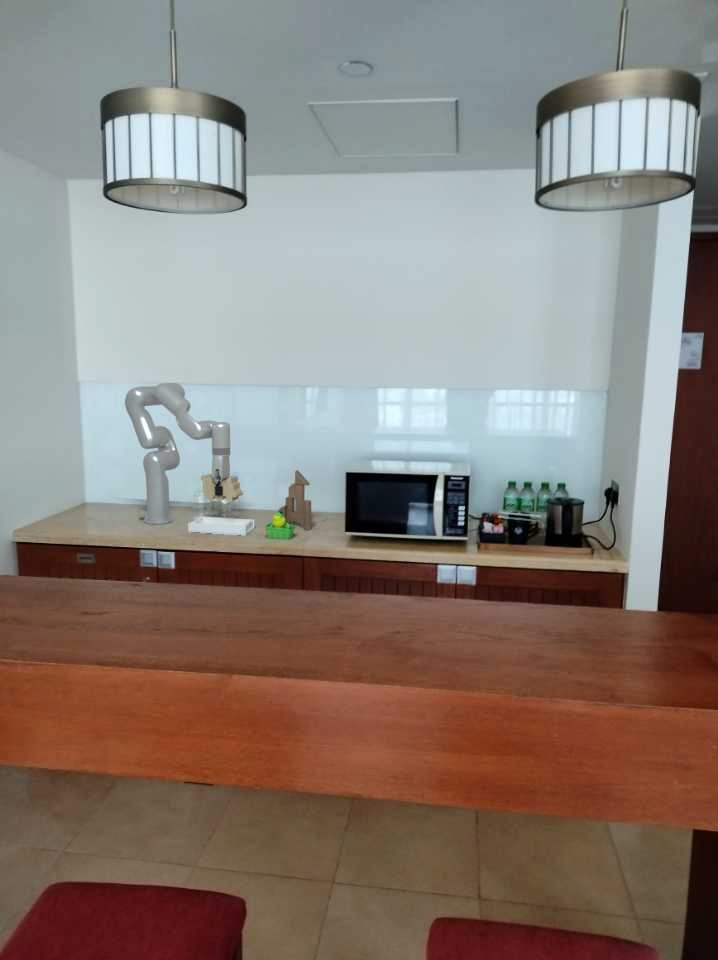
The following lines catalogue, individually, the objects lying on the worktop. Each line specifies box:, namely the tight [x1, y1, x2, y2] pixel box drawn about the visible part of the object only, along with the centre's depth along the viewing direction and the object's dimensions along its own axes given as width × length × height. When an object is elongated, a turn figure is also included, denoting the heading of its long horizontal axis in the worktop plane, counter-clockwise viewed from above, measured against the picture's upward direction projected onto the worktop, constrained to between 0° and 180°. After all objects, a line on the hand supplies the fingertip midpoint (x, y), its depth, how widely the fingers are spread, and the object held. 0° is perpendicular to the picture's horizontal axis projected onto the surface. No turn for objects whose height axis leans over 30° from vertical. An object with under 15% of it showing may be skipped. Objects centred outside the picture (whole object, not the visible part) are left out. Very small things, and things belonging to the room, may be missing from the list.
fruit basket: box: [264, 512, 296, 541], centre depth 281 cm, size 11×9×11 cm
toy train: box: [200, 474, 244, 503], centre depth 288 cm, size 6×17×10 cm, turn 71°
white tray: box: [187, 515, 256, 537], centre depth 291 cm, size 25×13×4 cm, turn 81°
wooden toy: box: [277, 469, 312, 531], centre depth 298 cm, size 16×7×25 cm, turn 72°
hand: (221, 493), depth 289 cm, fingers closed on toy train, 6 cm apart
